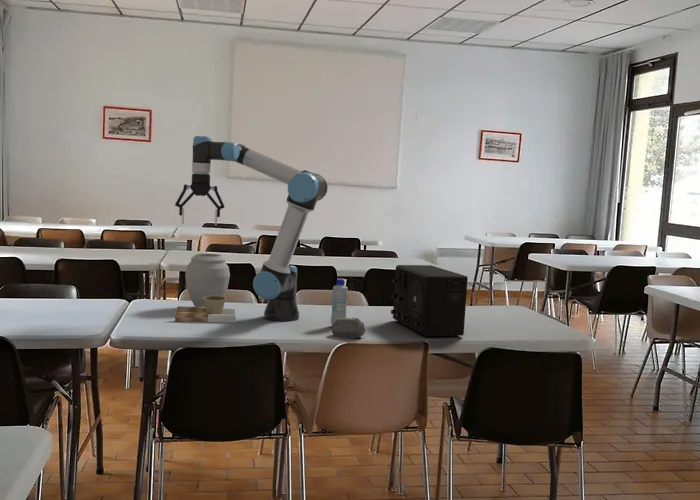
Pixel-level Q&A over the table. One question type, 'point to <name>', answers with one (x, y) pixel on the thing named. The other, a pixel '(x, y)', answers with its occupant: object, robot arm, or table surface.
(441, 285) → the vintage radio
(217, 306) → the flower pot
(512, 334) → the table surface
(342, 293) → the bottle
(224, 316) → the bay
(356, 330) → the stone
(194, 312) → the flat square wooden block
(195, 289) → the vase
